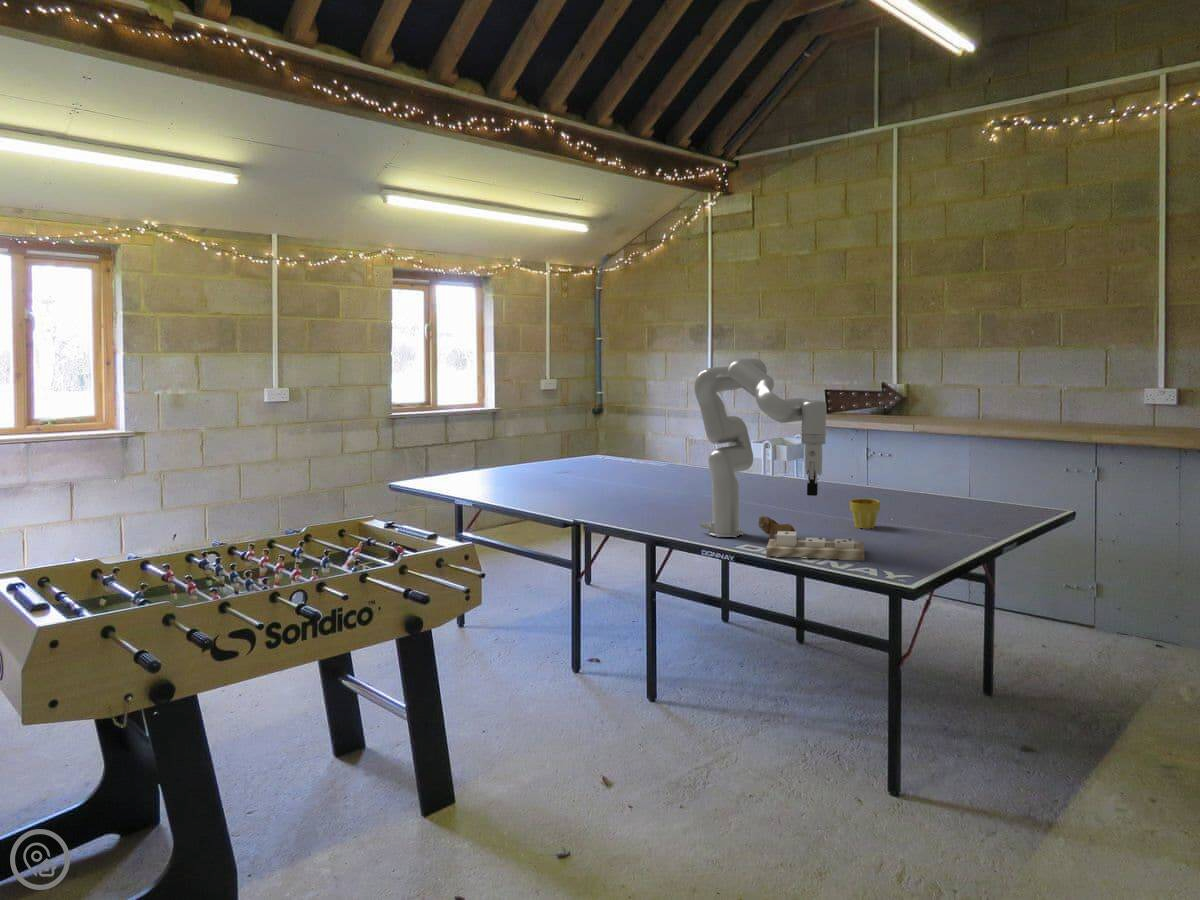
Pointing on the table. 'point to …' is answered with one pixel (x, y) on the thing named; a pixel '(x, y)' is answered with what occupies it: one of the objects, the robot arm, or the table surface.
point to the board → (816, 551)
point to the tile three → (844, 543)
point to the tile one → (786, 538)
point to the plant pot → (864, 512)
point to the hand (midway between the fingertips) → (812, 495)
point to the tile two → (815, 542)
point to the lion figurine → (773, 526)
